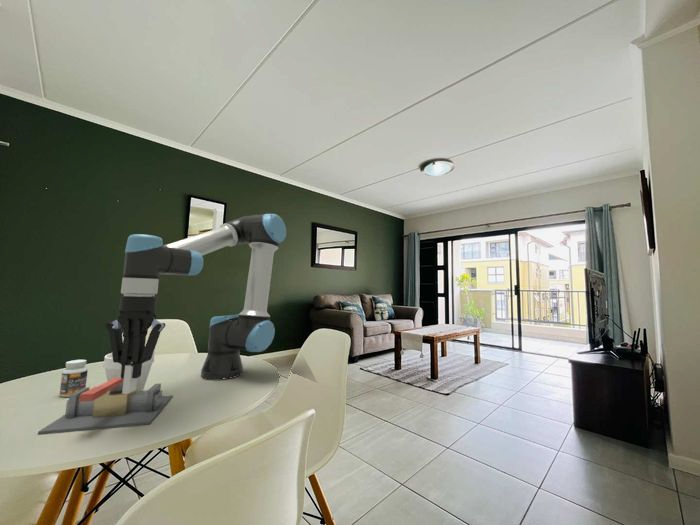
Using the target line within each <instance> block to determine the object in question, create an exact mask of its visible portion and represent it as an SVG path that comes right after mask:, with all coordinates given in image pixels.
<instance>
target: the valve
mask: <svg viewBox="0 0 700 525" xmlns="http://www.w3.org/2000/svg"><path fill="white" fill-rule="evenodd" d="M161 388H162V383H154V384H153V385H152V386H151V387H150V388H149V389H147V390H143V391H138V390H139V385H136V390H135V391H133V392H131V393H129V394H122V391H120V392H110V391H108V392H107V393H106V394H104V395H102V396H101V397H99V398H97V399H95V400H94V401H85V402H79V398H80V394H82V393H84V392H86V391H88V390H90V389H91V387H90V386H89V387H87V386H86V388H82V389H80V390H78V391H76V392H75V393H73V394H71V395H69V397H68V400H66V405H65V407H66V408H65V413H64V415H65V417H67V419H68V418H74V417H78V416H90V415H93V418H94V417H107V416H119V415H126V414H127V413H129V412H142V411H146V412H152V411H155V410H157V409H158V408H159V407H160V405H161V403H162V396H163V389H161Z"/></svg>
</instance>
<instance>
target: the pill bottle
mask: <svg viewBox="0 0 700 525" xmlns="http://www.w3.org/2000/svg"><path fill="white" fill-rule="evenodd" d="M86 365H87V360H86V359H74V360H70V361H66V362H65V369H64V370H63V371H62V373H61V378H60V387H59V388H60V389H59V396H60V397H63V398H69V395H71V394H73V393H75V392H76V391H78V390H80V389H82V388H87V381H88V380H87V378H88V371H89V370H88V368H87V367H86Z"/></svg>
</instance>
